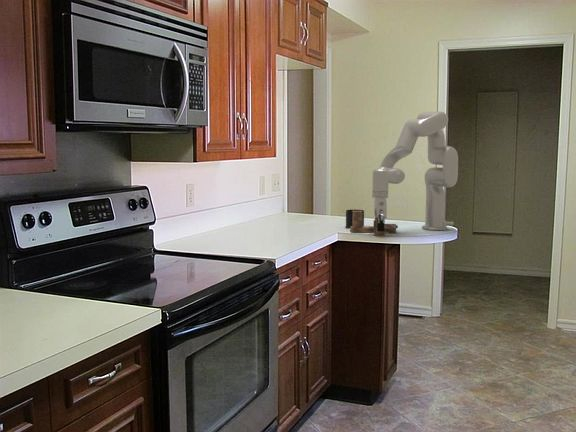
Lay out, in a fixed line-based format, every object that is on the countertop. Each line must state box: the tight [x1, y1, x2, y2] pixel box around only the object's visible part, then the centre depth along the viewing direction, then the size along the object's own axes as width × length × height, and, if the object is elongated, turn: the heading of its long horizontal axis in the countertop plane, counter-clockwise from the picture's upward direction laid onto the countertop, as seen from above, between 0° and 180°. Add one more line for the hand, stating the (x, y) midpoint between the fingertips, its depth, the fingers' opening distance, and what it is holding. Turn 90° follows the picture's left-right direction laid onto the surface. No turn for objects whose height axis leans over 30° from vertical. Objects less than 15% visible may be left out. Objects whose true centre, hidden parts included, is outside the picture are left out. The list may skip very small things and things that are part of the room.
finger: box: [373, 218, 386, 237], centre depth 301 cm, size 5×4×8 cm
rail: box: [349, 211, 399, 234], centre depth 310 cm, size 23×7×10 cm, turn 89°
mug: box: [345, 208, 365, 229], centre depth 325 cm, size 9×12×9 cm
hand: (379, 229), depth 301 cm, fingers open, 9 cm apart
